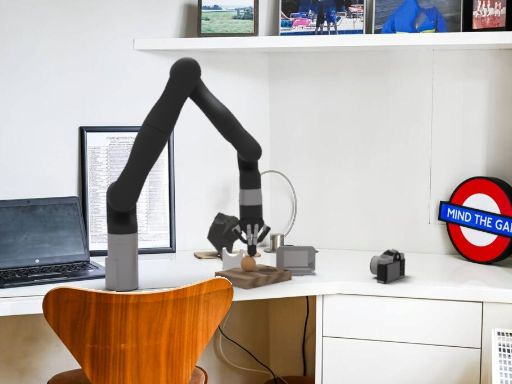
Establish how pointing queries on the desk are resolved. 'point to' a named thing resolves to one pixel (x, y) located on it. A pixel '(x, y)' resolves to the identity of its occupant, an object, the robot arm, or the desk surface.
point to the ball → (248, 263)
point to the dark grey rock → (223, 233)
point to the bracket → (232, 259)
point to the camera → (388, 266)
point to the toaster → (296, 259)
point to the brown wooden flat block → (255, 276)
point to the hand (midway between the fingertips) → (252, 256)
